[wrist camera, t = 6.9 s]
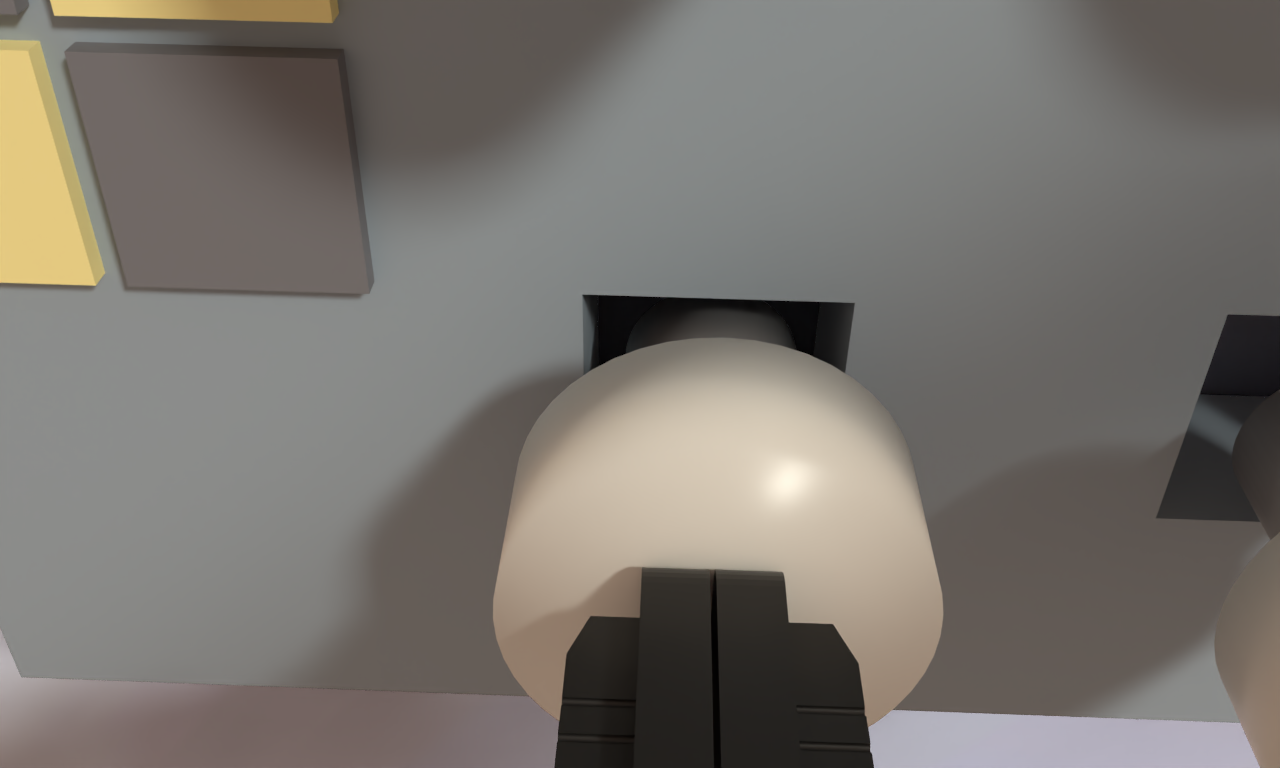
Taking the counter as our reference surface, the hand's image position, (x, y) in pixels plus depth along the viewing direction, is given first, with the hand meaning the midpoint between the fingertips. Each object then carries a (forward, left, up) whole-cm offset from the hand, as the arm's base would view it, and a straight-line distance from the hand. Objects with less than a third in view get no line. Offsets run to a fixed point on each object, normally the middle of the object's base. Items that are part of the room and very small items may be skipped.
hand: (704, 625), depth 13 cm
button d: (0, 0, -5) cm, 5 cm away
